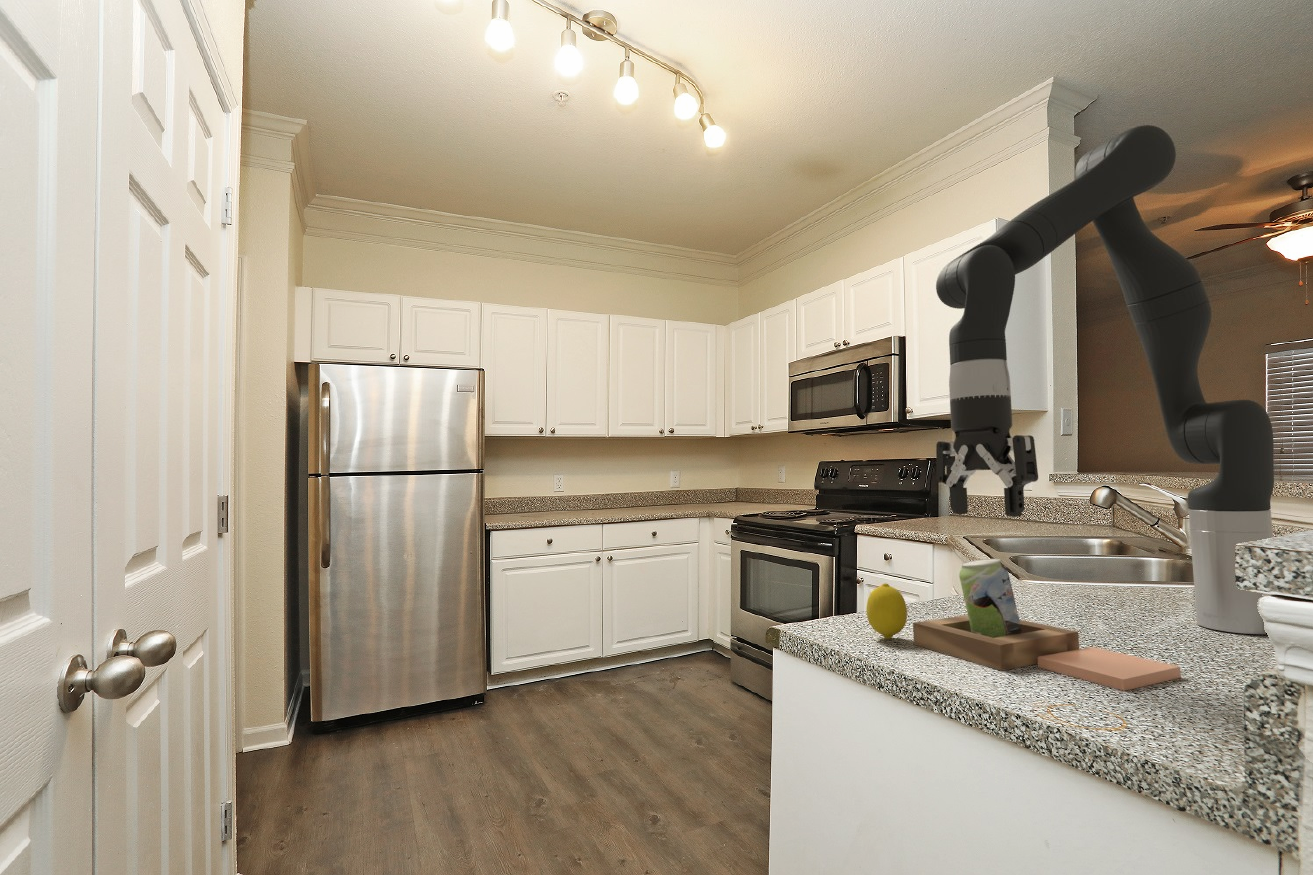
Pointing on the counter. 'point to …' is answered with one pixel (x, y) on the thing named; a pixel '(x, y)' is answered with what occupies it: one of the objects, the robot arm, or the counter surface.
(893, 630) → the lemon
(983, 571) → the beverage can
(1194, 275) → the robot arm
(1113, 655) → the plate
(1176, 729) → the counter surface
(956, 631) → the board
